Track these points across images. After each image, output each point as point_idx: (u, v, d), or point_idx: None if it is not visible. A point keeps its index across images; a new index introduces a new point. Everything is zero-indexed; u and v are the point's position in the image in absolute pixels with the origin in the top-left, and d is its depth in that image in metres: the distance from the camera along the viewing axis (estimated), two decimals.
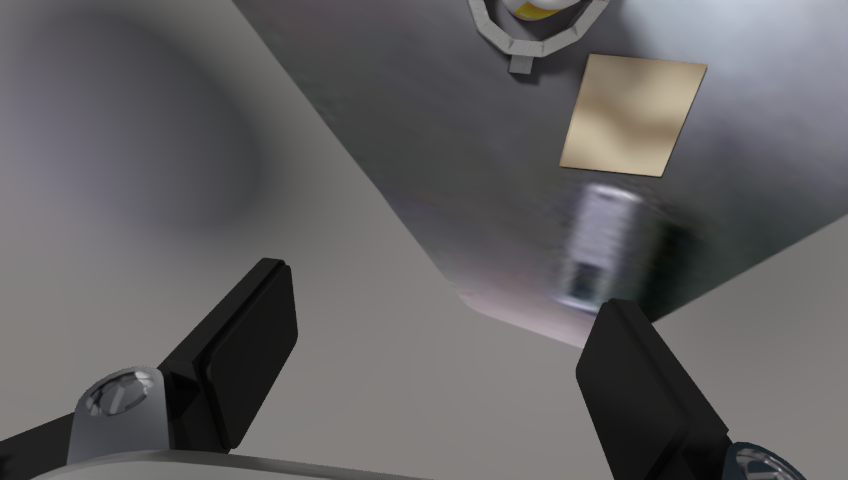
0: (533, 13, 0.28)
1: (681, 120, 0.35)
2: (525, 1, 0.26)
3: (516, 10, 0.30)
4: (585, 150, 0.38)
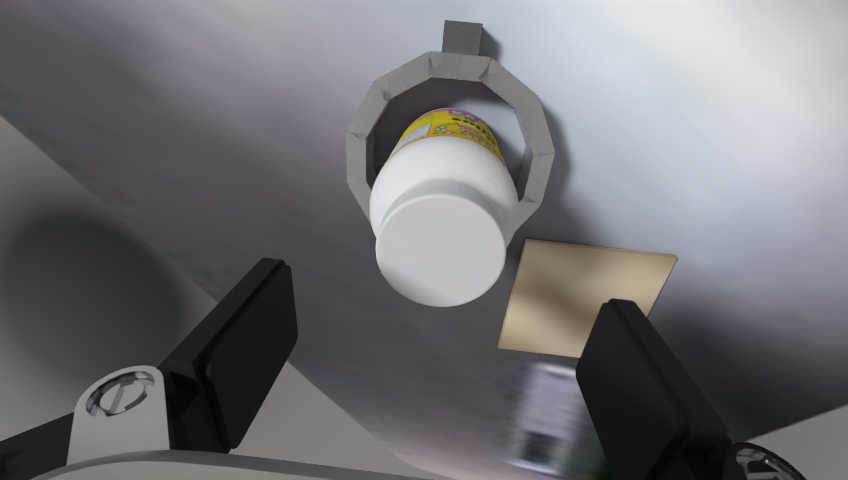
0: None
1: (645, 311, 0.28)
2: None
3: None
4: (528, 334, 0.30)
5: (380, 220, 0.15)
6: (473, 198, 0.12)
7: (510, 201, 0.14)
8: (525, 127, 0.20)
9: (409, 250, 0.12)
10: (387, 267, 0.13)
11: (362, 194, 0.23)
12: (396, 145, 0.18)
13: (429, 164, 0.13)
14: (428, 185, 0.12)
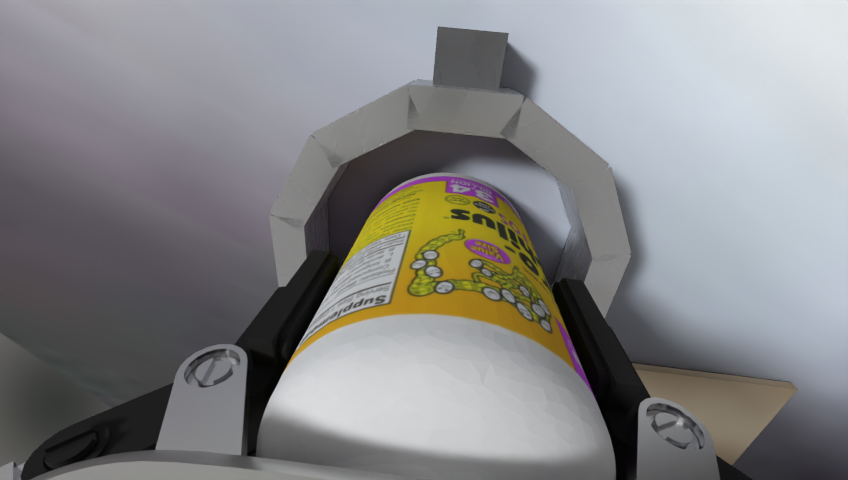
0: None
1: (737, 452, 0.19)
2: None
3: None
4: None
5: None
6: None
7: None
8: (581, 215, 0.11)
9: None
10: None
11: None
12: (343, 265, 0.09)
13: (387, 429, 0.05)
14: None
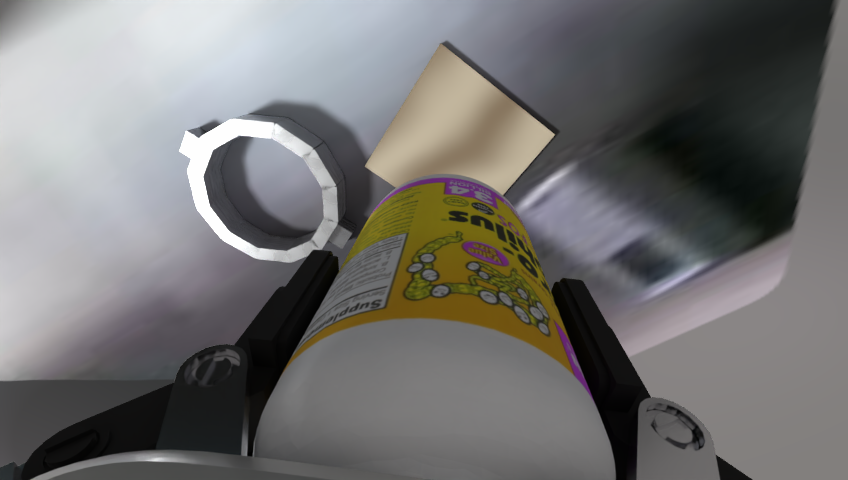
0: None
1: (493, 91, 0.26)
2: None
3: None
4: None
5: None
6: None
7: None
8: (250, 135, 0.27)
9: None
10: None
11: (266, 255, 0.32)
12: (341, 268, 0.09)
13: (381, 436, 0.05)
14: None
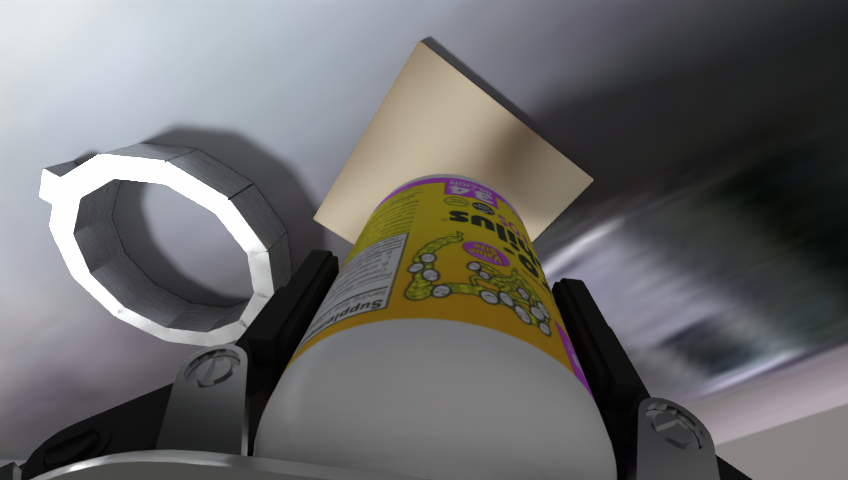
0: None
1: (502, 114, 0.17)
2: None
3: None
4: None
5: None
6: None
7: None
8: (131, 178, 0.18)
9: None
10: None
11: (179, 337, 0.23)
12: (342, 268, 0.09)
13: (382, 436, 0.05)
14: None
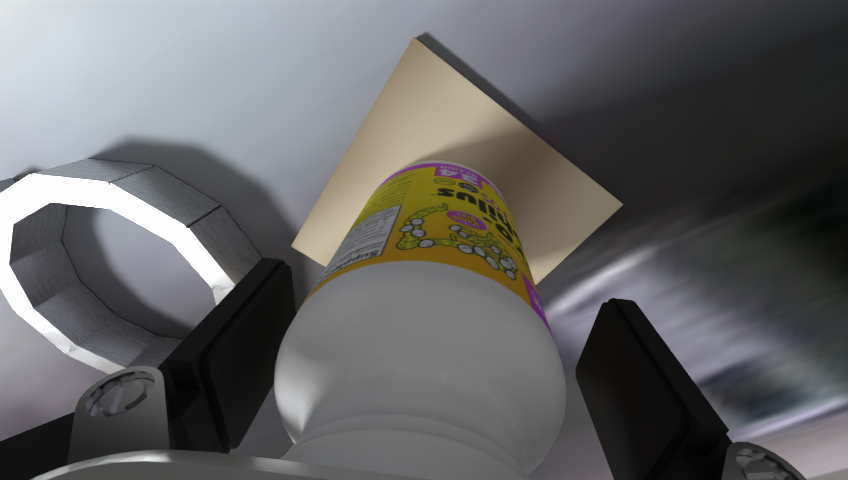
0: None
1: (514, 127, 0.14)
2: None
3: None
4: None
5: (289, 425, 0.07)
6: None
7: (552, 400, 0.07)
8: (71, 203, 0.15)
9: None
10: None
11: None
12: (345, 237, 0.11)
13: (377, 341, 0.06)
14: (359, 441, 0.05)
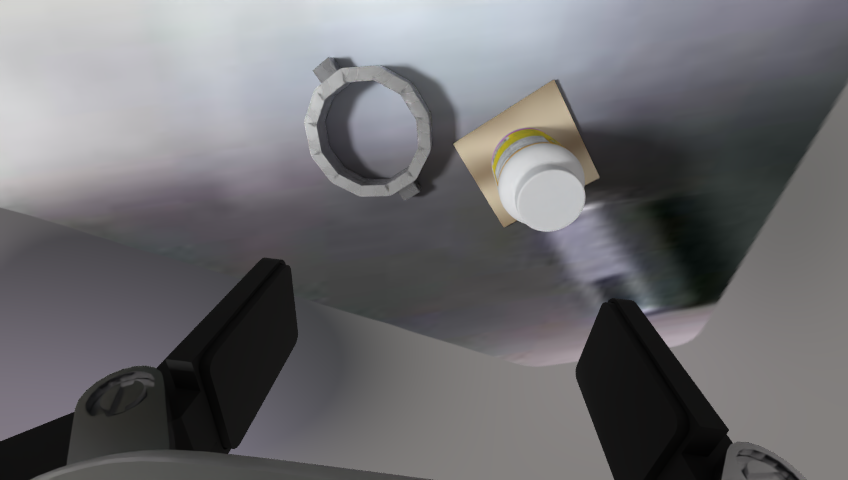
0: None
1: (573, 129, 0.34)
2: None
3: None
4: None
5: (513, 176, 0.27)
6: (579, 179, 0.24)
7: None
8: (383, 84, 0.32)
9: (538, 193, 0.24)
10: (522, 198, 0.25)
11: (342, 182, 0.37)
12: (517, 140, 0.30)
13: (554, 157, 0.26)
14: (558, 166, 0.24)
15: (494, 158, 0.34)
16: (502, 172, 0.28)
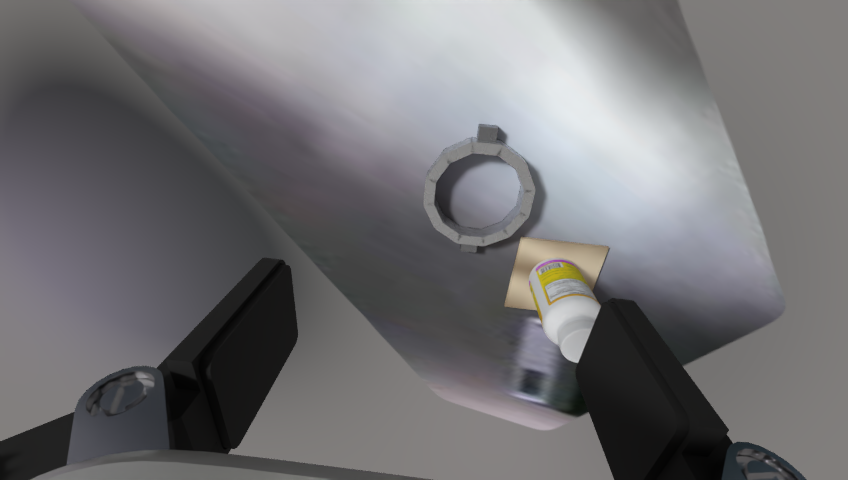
0: None
1: (594, 280, 0.46)
2: (541, 313, 0.39)
3: (533, 289, 0.44)
4: (523, 297, 0.48)
5: (569, 311, 0.37)
6: None
7: None
8: (520, 177, 0.39)
9: (583, 338, 0.35)
10: (572, 335, 0.35)
11: (431, 211, 0.41)
12: (573, 279, 0.40)
13: None
14: None
15: (544, 271, 0.43)
16: (561, 301, 0.37)
